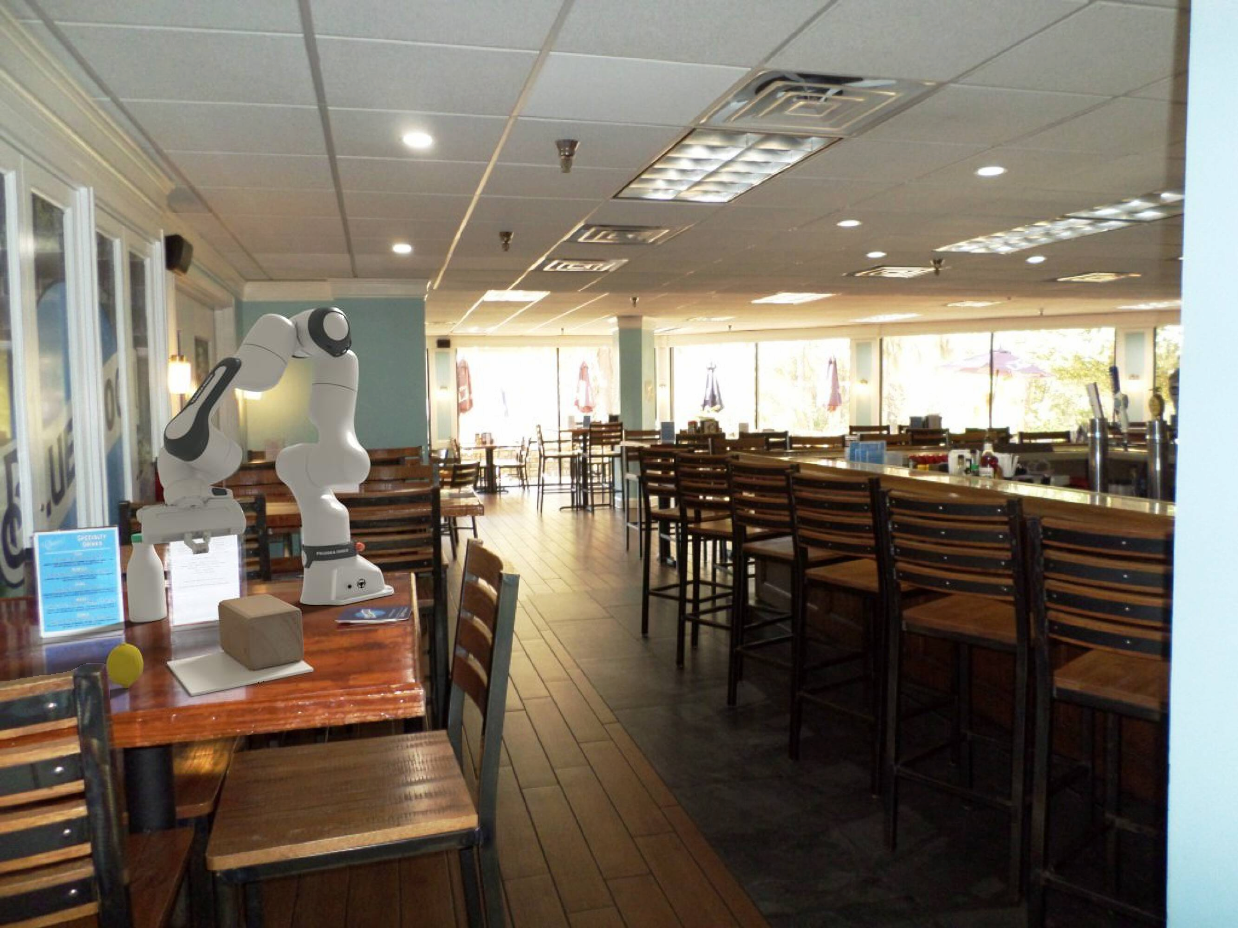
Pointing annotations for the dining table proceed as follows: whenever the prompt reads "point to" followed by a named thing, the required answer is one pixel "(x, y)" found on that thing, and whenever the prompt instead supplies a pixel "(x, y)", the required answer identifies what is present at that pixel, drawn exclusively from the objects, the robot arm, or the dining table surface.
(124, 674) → the lemon
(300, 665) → the board
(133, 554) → the milk bottle
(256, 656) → the wooden block
